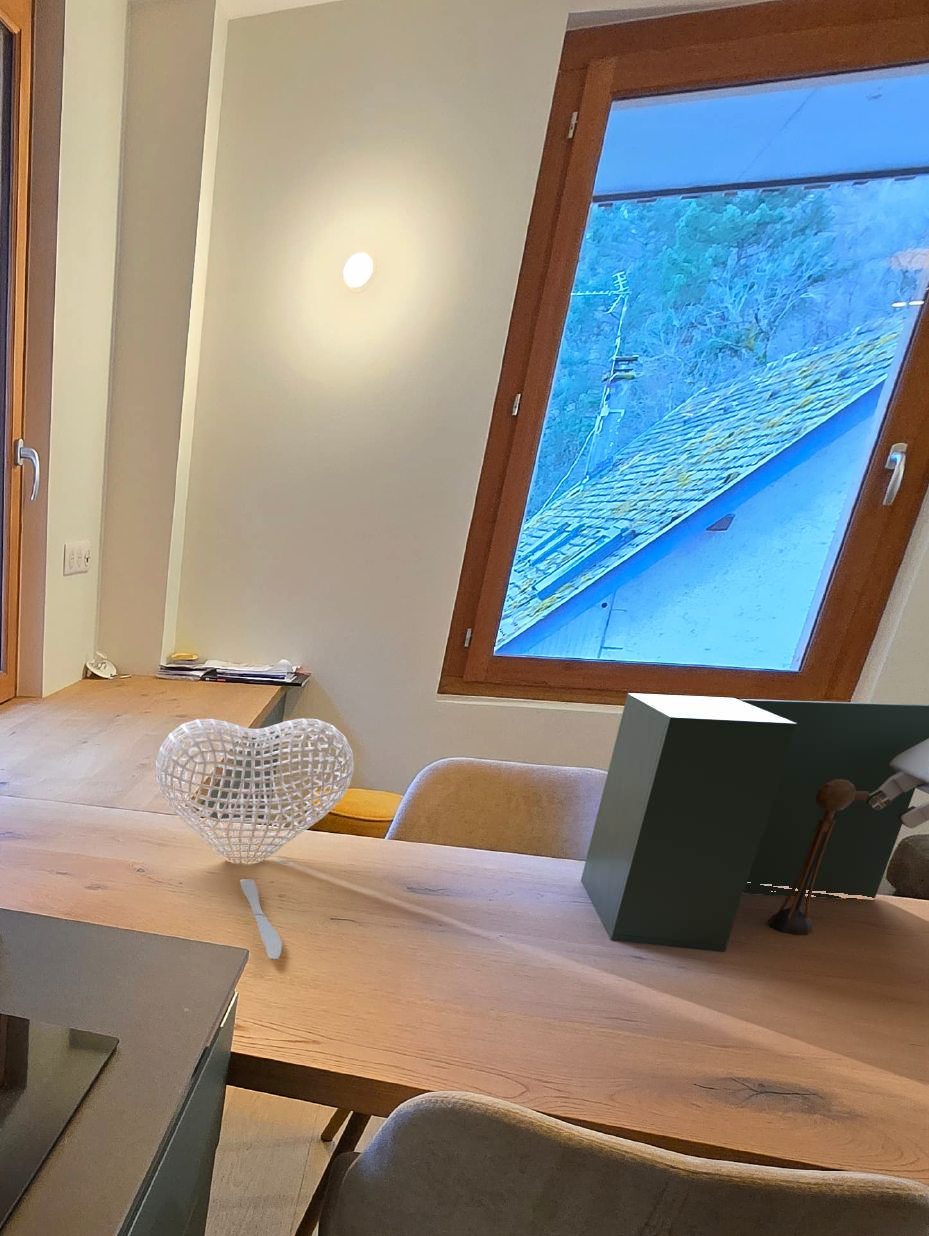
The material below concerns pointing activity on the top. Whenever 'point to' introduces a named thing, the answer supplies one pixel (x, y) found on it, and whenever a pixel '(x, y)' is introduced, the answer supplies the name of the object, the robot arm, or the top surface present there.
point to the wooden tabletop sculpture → (814, 857)
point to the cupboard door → (819, 753)
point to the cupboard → (683, 817)
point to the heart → (253, 780)
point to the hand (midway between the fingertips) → (885, 813)
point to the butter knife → (262, 920)
